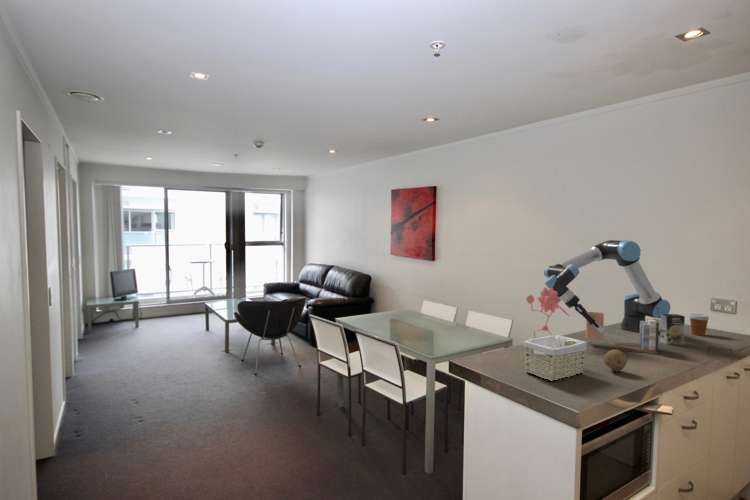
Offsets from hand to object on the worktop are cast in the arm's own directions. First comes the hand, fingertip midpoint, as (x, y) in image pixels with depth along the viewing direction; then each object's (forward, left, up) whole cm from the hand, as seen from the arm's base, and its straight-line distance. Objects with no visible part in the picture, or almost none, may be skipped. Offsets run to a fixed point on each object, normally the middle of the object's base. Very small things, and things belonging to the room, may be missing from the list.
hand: (602, 330), depth 223 cm
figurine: (+33, -26, -9) cm, 43 cm away
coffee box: (-21, +37, -9) cm, 43 cm away
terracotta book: (0, -4, -5) cm, 6 cm away
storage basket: (+58, -24, -9) cm, 63 cm away
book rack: (0, +16, -9) cm, 18 cm away
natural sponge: (+45, +1, -9) cm, 46 cm away
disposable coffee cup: (-50, +57, -9) cm, 76 cm away
